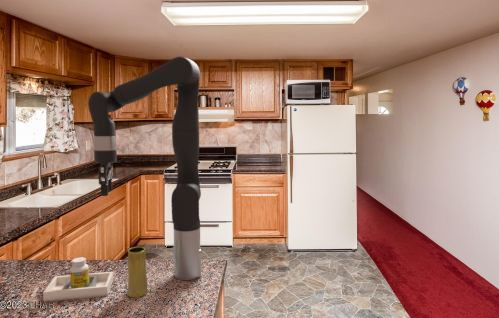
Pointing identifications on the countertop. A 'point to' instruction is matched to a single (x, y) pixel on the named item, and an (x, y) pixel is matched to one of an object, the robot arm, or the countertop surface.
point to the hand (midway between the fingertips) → (106, 193)
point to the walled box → (63, 290)
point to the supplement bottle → (79, 273)
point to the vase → (137, 272)
